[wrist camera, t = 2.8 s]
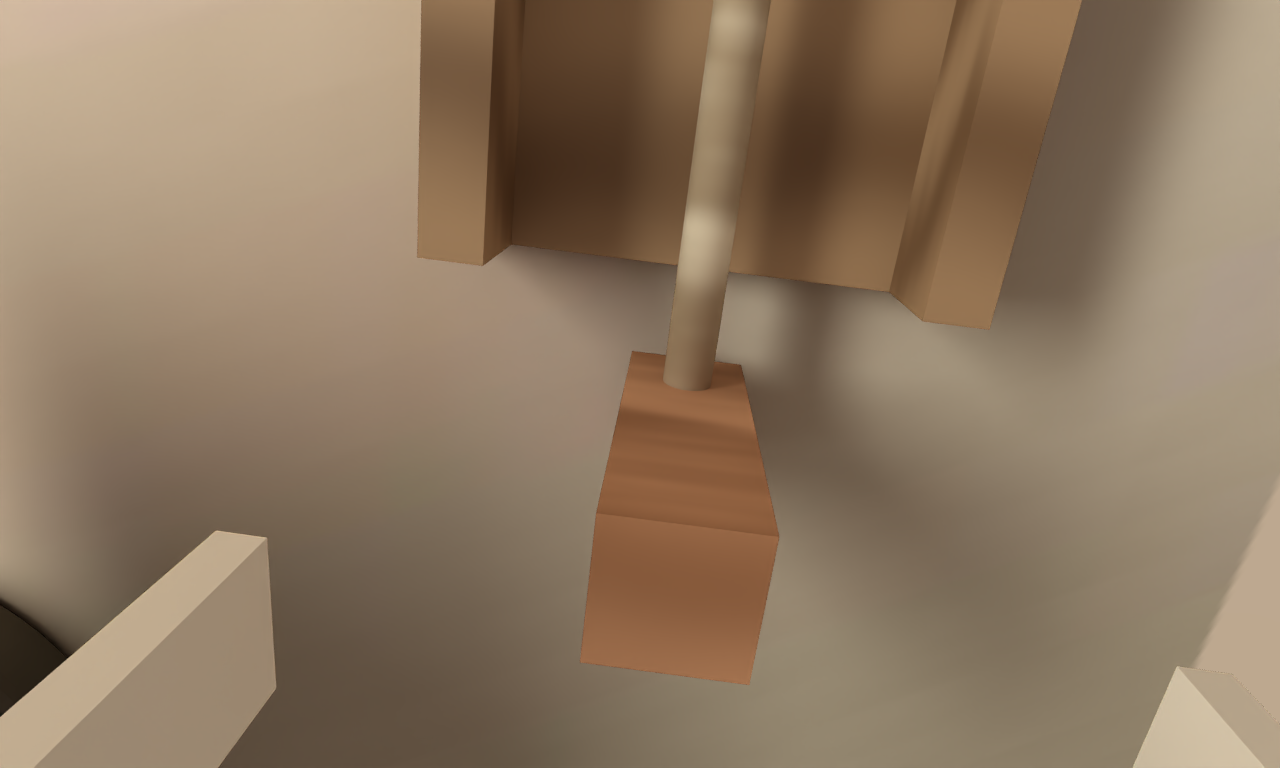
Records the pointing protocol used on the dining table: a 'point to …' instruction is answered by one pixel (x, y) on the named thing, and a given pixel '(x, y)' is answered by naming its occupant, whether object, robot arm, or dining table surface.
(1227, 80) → the dining table surface
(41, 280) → the dining table surface
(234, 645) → the robot arm
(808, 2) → the tray
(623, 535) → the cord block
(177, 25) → the dining table surface
